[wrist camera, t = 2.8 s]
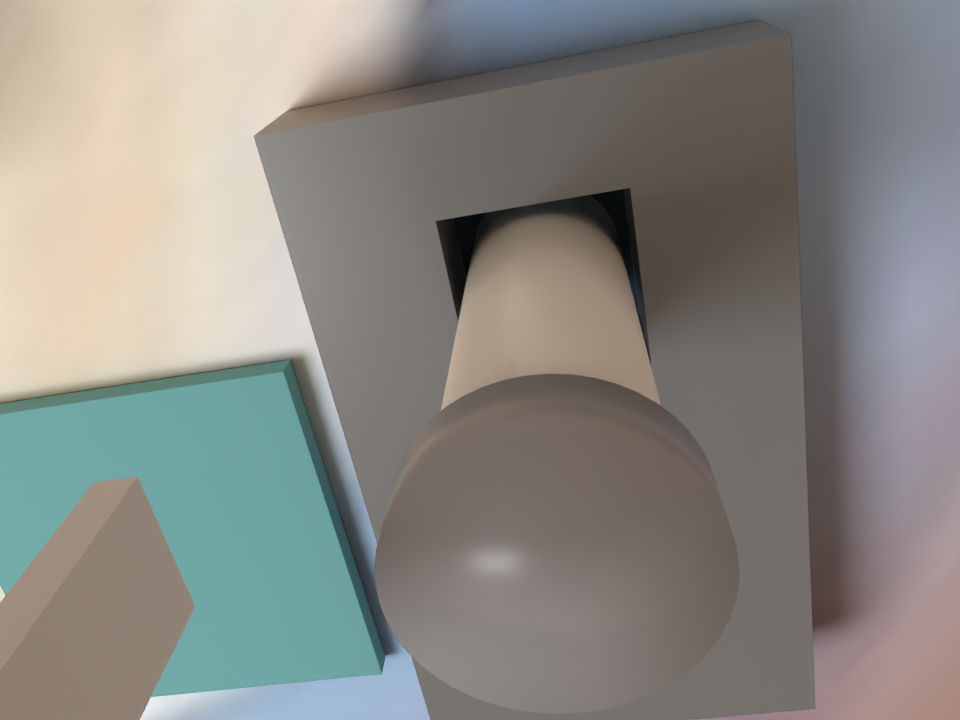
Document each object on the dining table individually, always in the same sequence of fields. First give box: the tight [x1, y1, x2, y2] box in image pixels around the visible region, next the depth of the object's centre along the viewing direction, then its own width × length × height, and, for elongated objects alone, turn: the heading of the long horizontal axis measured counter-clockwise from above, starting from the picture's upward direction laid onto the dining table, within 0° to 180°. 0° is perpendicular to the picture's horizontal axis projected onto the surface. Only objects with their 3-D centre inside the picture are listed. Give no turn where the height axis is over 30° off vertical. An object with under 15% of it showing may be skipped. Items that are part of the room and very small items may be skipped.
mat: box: [0, 360, 385, 697], centre depth 29 cm, size 12×12×1 cm
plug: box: [374, 195, 739, 714], centre depth 18 cm, size 5×5×14 cm
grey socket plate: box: [254, 20, 815, 720], centre depth 25 cm, size 20×12×3 cm, turn 11°
